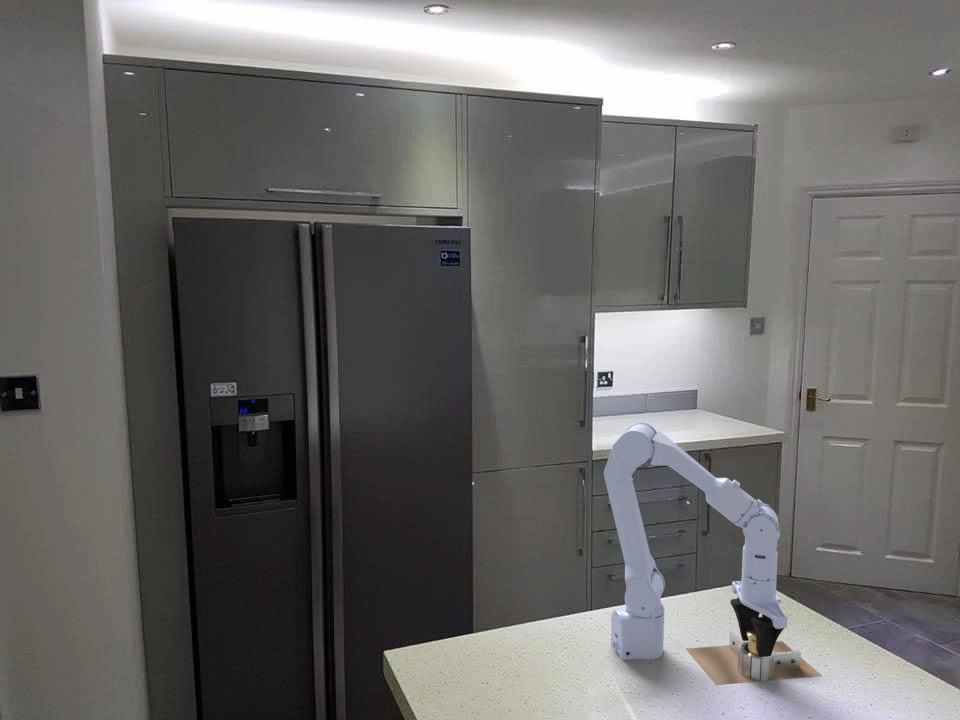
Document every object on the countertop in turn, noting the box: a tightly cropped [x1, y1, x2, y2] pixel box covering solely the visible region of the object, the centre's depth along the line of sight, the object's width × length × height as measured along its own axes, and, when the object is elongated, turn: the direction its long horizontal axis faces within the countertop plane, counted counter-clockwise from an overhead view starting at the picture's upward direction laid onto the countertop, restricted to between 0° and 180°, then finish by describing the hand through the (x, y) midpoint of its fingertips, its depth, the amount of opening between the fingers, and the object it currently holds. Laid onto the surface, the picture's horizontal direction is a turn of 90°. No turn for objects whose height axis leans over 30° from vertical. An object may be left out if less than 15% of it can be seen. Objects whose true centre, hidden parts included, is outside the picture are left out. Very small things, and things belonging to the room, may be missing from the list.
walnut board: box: [685, 640, 822, 686], centre depth 122 cm, size 20×12×1 cm, turn 98°
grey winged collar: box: [728, 630, 802, 682], centre depth 122 cm, size 12×12×4 cm
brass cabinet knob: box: [747, 630, 759, 656], centre depth 119 cm, size 3×3×7 cm
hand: (756, 647), depth 119 cm, fingers open, 5 cm apart
